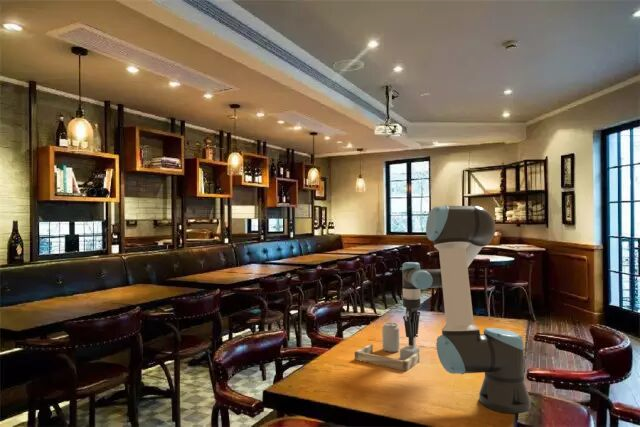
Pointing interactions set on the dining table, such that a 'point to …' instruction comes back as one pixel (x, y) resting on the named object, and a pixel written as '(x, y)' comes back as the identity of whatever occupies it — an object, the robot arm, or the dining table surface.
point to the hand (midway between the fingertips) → (412, 352)
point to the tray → (386, 359)
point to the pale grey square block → (408, 352)
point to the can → (390, 337)
